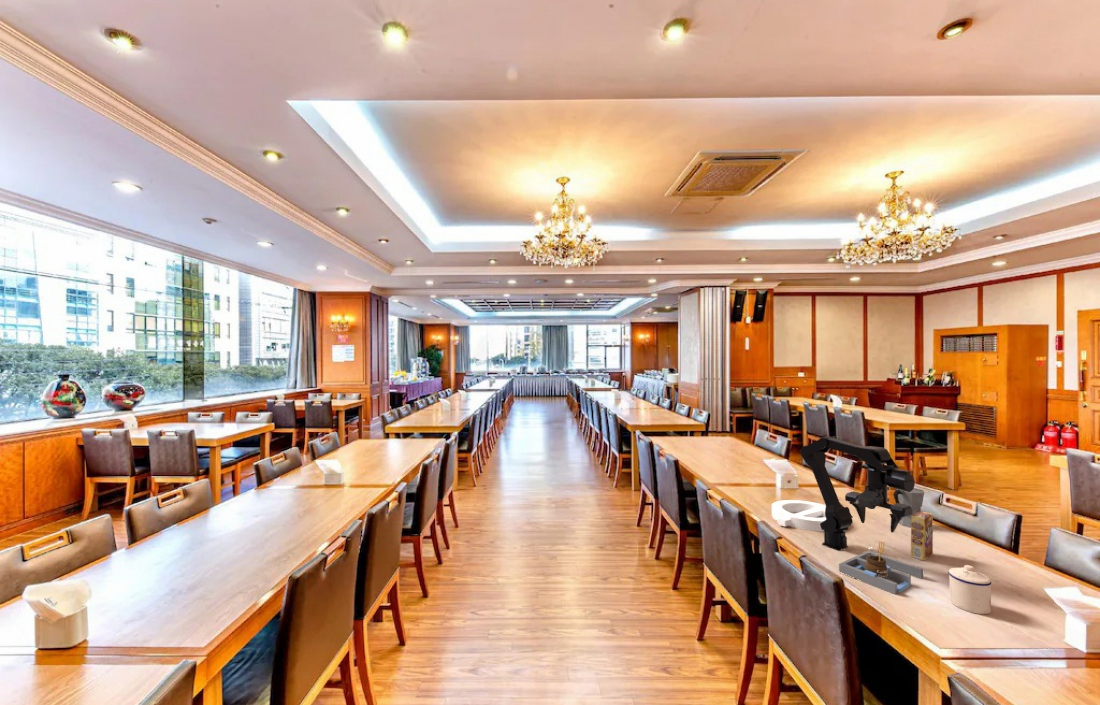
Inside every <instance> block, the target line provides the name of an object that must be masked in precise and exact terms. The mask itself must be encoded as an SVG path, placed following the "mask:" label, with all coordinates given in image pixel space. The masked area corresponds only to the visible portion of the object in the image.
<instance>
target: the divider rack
mask: <svg viewBox="0 0 1100 705" xmlns="http://www.w3.org/2000/svg"><path fill="white" fill-rule="evenodd" d="M869 551H870V553H868V552H869ZM872 551H873V550H868V551H864V552H862V553H860V554H857V555H856V556H853V557H850V558H849V559H846V560H845V561H843V562H840V563H838V572H839V571H840V572H842V573H844V574H847V575H849V576H851V577H850V578H852V577H854V578H856V579H855V580H857V579H859V580H861V581H860V582H862V581H863V582H862V583H864V582H865V584H867V583H868V585H870V586H872V587H875V588H877V589H880V590H883V591H886V592H888V593H890V594H893V595H897V594H899V592H900V593H902V592H903V591H904V589H905V590H906V589H908V588H909V587H910V586H911V585H912V583H911V582H912V581H911V579H912V578H911V577H915V578H917V579H920V580H922V579H923V578H924V568H922V567H920V566H916V565H914V564H911V563H908V562H904V561H901V560H898V559H897V558H892V557H889V556H886V555H883V554H881V557H882V558H884V559H885V560H886V566H887V569H888V580H887V579H884V578H882V577H879V576H877V574H876V573H873V572H870V571H868V570H865V563H866V561H867V560H866V557H867V556H868V555H871V554H872V555H874V554H875V556H879V554H880V553H877V552H876V551H873V552H872ZM875 552H876V553H875ZM844 574H843V575H844ZM908 574H909V575H908ZM911 575H912V576H911ZM849 576H848V577H849ZM854 578H853V579H854ZM859 580H858V581H859ZM892 580H893V581H892Z"/></svg>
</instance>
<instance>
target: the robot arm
mask: <svg viewBox="0 0 1100 705" xmlns="http://www.w3.org/2000/svg"><path fill="white" fill-rule="evenodd" d="M830 450H834V451H837V452H840V453H843V454H847V455H851V456H853V457H854V456H855V457H856V458H858V459H859V460H860V461H861V462H864V464H862V465H860V468H861V469H865V470H866V471H867V472H866V479H867V480H866V485H865V487H864V490H863V491H862V492H858V491H854V490H853V491H850V492H847V493H845V496H844V500H845V502H848V504H849V505H851V506H852V507H854V508H855V510H856V512H857V515H858V518H859V520H860V522H861V523H862V524H865V520H866V508H867V509H869V510H874V509H876V507H879V508H883V509H887V510H890V512H891V513H890V514H889V517H890V533H891V534H892V533H895V531H896V528H897V526H898V525H899V522H900V520H901V519H902V518H903V517H906V516H909V515H912V508H911V507H910V506H909V505H905V504H901V503H896V502H895V503H894V504H893V503H889V502H890V498H888V491H890V488H892V489H895V490H897V489H899V490H903V491H907V492H911V491H912V490H913V489H914V488H915V485H916V481H915V479H914V477H913V475H912V474H911V473H912V472H911V471H910V470H907V469H905V470H904V469H899V466H898V465H897V463H896V462H895V461H894V459H893V458H892V457H891V453H890V452H889V451H888V449H887V448H886V447H885V448H884V447H880V446H868V445H867V446H866V445H860V444H856V443H854V442H851V441H850V442H849V441H847V440H843V439H839V438H835V437H833V436H823V437H822V436H821V437H820V438H819V439H818V440H816V441H813V442H811V443H808V445H803V446H802V447H801V449H800V450H799V452H800V456H801V457H802V460H803V461H804V463H805V464H806V465H807V466H808V467H809V468H811V471H812V473H813V476H814V479H815V481H816V483H817V486H818V489H819V492H820V494H821V496H822V499H823V501H824V505H826V508H825V516H826V520H825V521H823V522H822V523H820V526H821V529H822V530H824V532H823V533H824V534H823V538H824V541H823V542H821V545H822V546H824V547H825V546H826V547H827V548H831V549H834V550H836V551H842V550H845V549H847V548H848V547H849V545H848V538H847V536H846V531H849V528H850V527H851V526H852V524H853V522H854V521H853V517H854V516H853V515H852V514H851V510H850V508H849V507H848V506H844V505H843V504H842V503H841V501H840V500H839V497H838V495H837V492H836V489H835V487H834V485H833V483H832V481H831V478H830V475H829V472H828V471H827V467H826V460H827V456H826V453H827V452H829V451H830Z"/></svg>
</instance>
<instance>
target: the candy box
mask: <svg viewBox="0 0 1100 705" xmlns="http://www.w3.org/2000/svg"><path fill="white" fill-rule="evenodd" d="M933 518H934V517H933V514H932V513H931V512H925V511H922V510H921V511H919V512H917V513H916V514H914V515H912V516H911V529H910V557H911V558H913V557H914V559H916V558H917V560H919V559H920V560H921V561H925V560H927V559H928V558H930V557H932V556H933V553H934V552H933V551H934V550H933V546H934V544H933V542H934V541H933V540H934V539H933V538H934V537H933V536H934V535H933V534H934V530H933V528H934V527H933V525H934V524H933V521H934V520H933ZM920 560H919V561H920Z"/></svg>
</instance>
